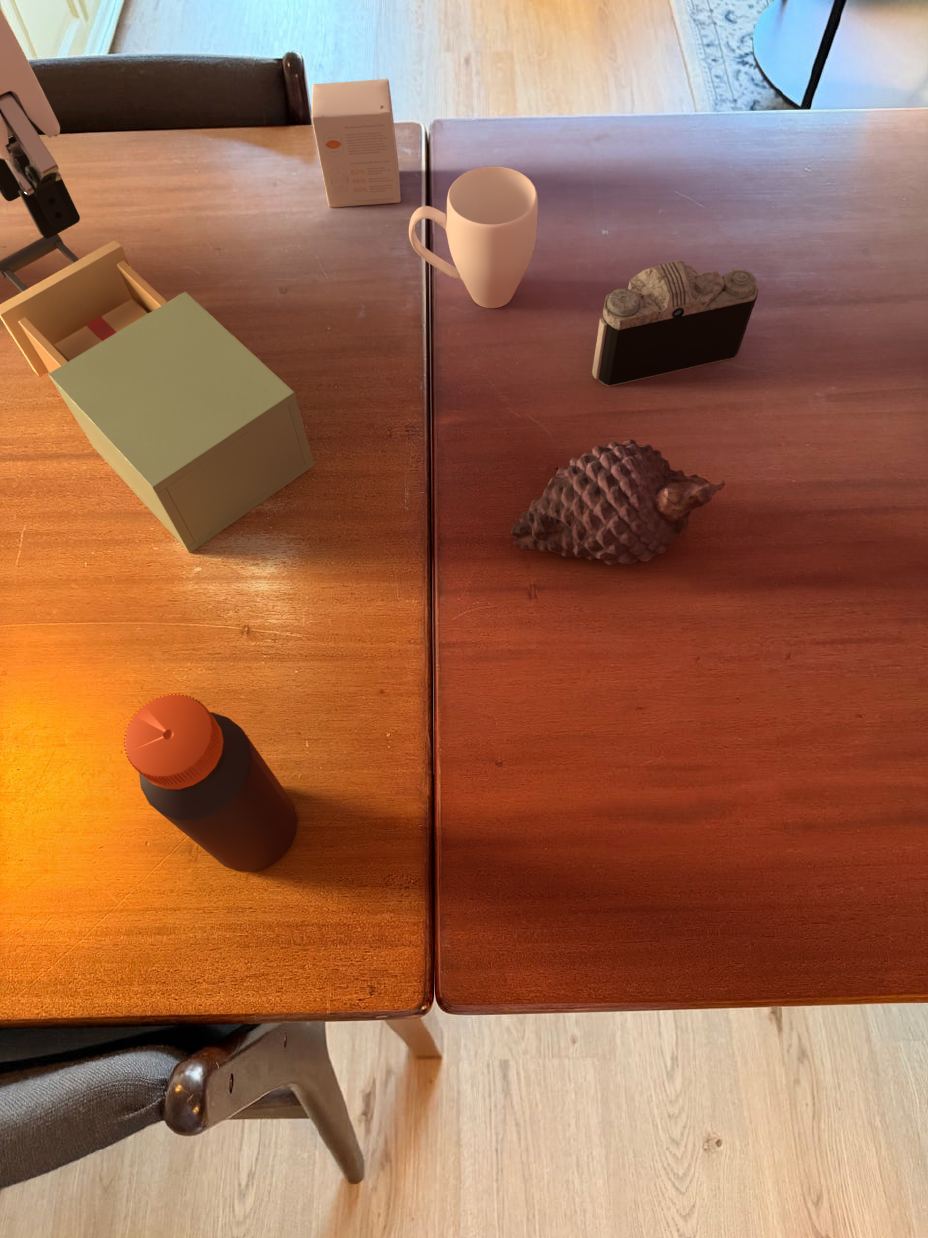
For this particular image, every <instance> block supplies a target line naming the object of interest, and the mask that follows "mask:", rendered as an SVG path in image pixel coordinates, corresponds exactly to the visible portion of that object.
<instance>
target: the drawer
mask: <svg viewBox="0 0 928 1238" xmlns="http://www.w3.org/2000/svg"><path fill="white" fill-rule="evenodd" d="M56 250H58V251H59V252H60V253H61V254H63V256H65V257H66V258H67V259H68V260H69V261H70V263H71V264H69V265H67V266H66V267H64V268H62V269H61V270H58V271H57V272H54V274H51V275H50V276H48V277H46V278H44V279H43V280H40V281H39V282H37V283H35V284H34V285H32V286H30V287H27V286H26V285H25V283H23V281H22V280H21V279H20V278H19V277H18V276H17V275H16V274H15V273H17V272H18V271H20V270H21V269H22V270H23V268H25V267H27V266H28V265H30V264H32V263H34V262H36V261H38V260H40V259H41V258H43V257H45V256H46V255H48V254H51V253H52V252H53V251H56ZM0 276H1V277H2V278H3V279H6V278H7V279H8V280H9V281H10V282H11V283H12V284H13V286H15V287H16V289H18V290H19V291H20V293H18V294H16V295H14V296H13V297H10V298H9V299H7V300H5V301H4V302H2V303H1V304H0V320H1V322H2V323H3V324H4V326H5V328H6V329H7V331H8V333H9V334H10V336H11V337H12V339H13V340H14V342H15V344H16V345H17V347H18V348H19V350H20V351H21V353H22V354H23V356H24V358H25V360H26V361H27V362H28V364H29V366H30V367H31V369H32V370H33V371H34V372H35V374H36V375H37V376H38V377H39V378H40V377H42V376H44V375H46V374H48V373H51V372H52V371H54V370H56V369H57V368H59V367H61V366H62V365H64V364H66V363H67V362H68V361H67V360H66V359H65V358H64V357H63V356H62V355H61V354H60V353H59V351H58V350H57V349H56V348H55V346H54V345H55V344H56V343H58V342H60V341H61V340H63V339H65V338H67V337H68V336H70V335H72V334H73V333H75V332H77V331H78V330H80V329H82V328H83V327H85V326H86V325H87V324H89V323H91V322H92V321H94V320H96V319H97V318H99V317H102V316H104V315H105V314H107V313H109V312H110V311H112V310H114V309H115V308H117V307H119V306H120V305H122V304H124V303H126V302H127V301H129V300H131V299H134V300H135V301H136V302H137V303H138V304H139V305H140V306H141V307H142V308H143V309H144V310H145V311H146V312H147V313H148V314H149V313H150V312H152V311H154V310H155V309H157V308H159V307H160V306H162V305H164V304H165V303H167V302H168V301H167V299H166V298H164V297H163V296H162V294H160V293H159V292H158V291H157V290H156V289H155V288H154V287H153V286H151V284H149V283H148V282H147V281H146V279H144V278H143V277H142V276H141V275H140V274H139V273H138V272H137V271H136V270H135V269H133V267H132V266H131V264H130V262H129V259H128V257H127V255H126V252H125V250H124V248H123V246H122V245H121V244H120V243H119V242H118V241H117V240H116V239H113V240H111V241H110V242H108V243H105V245H103V246H101V247H99V248H97V249H95V250H93V251H92V252H90V253H89V254H87V255H85V256H82V258H79V257H78V256H77V255H76V254H75V253H73V251H72V250H71V249H70V248H68V246H67V245H66V244H64V241H63V239H62V238H61V236H60V235H59V233H58V234H56V235H54V236H53V237H51V238H48V239H47V238H44V237H43V236H42V237H40V238H39V239H37V240H35V241H33V242H32V243H31V242H30V244H28V245H26V246H24V247H23V248H20V249H19V250H17V251H15V252H13V253H11V254H10V255H8V256H6V257H4V258H3V259H1V260H0Z"/></svg>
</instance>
